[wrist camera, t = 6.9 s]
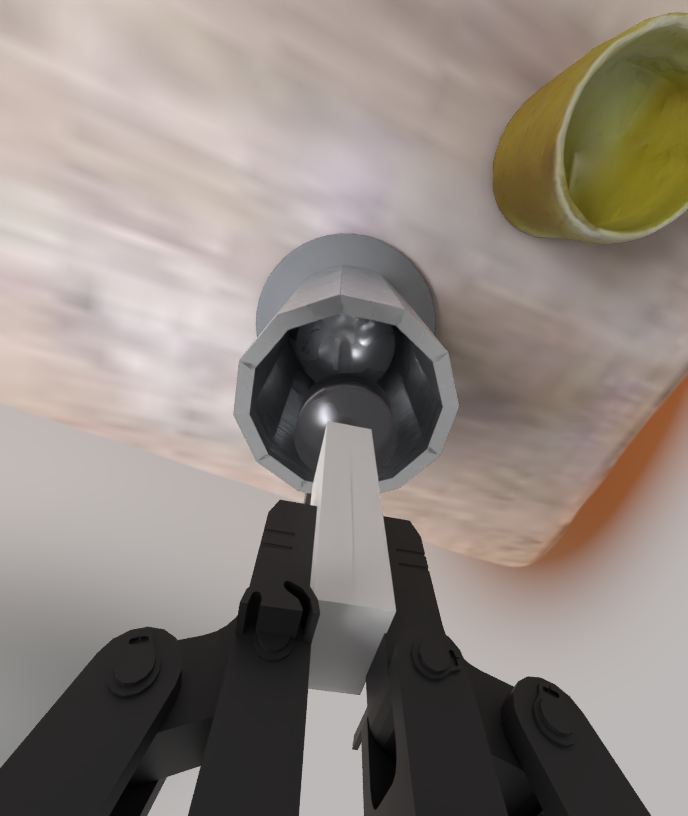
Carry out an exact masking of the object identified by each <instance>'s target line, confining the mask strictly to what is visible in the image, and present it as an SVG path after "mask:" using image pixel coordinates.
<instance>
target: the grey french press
mask: <svg viewBox="0 0 688 816" xmlns="http://www.w3.org/2000/svg"><path fill="white" fill-rule="evenodd" d="M339 313H344V314H348V315H352V316H357V317H361V318H366V319H370V320H375V321H379V322H384V323H388V324H391V326H392V329H393V332H394V337H395V350H394V355H393V358H392V361H391V364H390V365H389V367H388V369H387V370H386V372H385V373H384V374H383V375H382V377H381V378H380V379H378V380H377V381H376V382H375V383H376V384H378V385H379V386H380V387H381V388H382V390H383V391H384V392H385V394H386V396H387V397H388V400H389V402H390V406H391V410H392V414H393V418H394V422H395V426H396V430H397V444H396V448H395V451H394V453H393V455H392V457H391V459H390V460H389V461H388V463H387V464H386V465H385V466H384V467H383V468H382V469H381V470H379V471H378V472H377V474H378V482H379V489H380V493H382V492H386V491H390V490H394V489H398V488H401V487H402V486H403V485H404V484H406V483H407V482H408V481H409V480H410V479H412V478H413V477H414V476H415V475H417V474H418V473H419V472H420V471H421V470H423V469H424V468H425V467H426V466H428V465H429V464H430V463H431V462H432V461H434V460H435V459H436V458H437V457H439V456H440V454H441V452H442V449H443V447H444V444H445V441H446V439H447V436H448V434H449V431H450V429H451V426H452V424H453V421H454V419H455V416H456V414H457V411H458V409H459V403H458V398H457V393H456V388H455V383H454V378H453V373H452V368H451V363H450V358H449V353H448V351H447V350H446V349H445V348H444V346H443V345H442V344H441V343H440V342H439V340H438V339H437V338H436V337H435V335H434V334H433V333H432V332H431V331H430V329H429V328H428V327H427V326H426V324H425V323H424V322H423V321H422V319H421V318H420V317H419V316H418V315H417V313H416V312H415V311H414V310H413V308H412V307H411V306H410V305H409V304H408V302H407V301H406V300H405V299H404V298H403V297H402V296H401V295H400V294H399V293H398V292H397V291H396V290H395V289H394V288H393V286H392V285H391V284H390V283H389V282H388V281H387V280H386V279H385V278H384V277H383V276H382V275H381V274H380V273H378V272H373V271H370V270H368V269H365V268H361V267H356V266H348V265H344V264H342V265H339V266H334V267H330V268H326V269H324V270H321V271H319V272H317V273H315V274H312V275H309V276H307V277H306V278H305V280H304V281H303V282H302V283H301V284H300V286H299V287H298V288H297V289H296V290H295V292H294V293H293V294H292V295H291V296H290V298H289V299H288V300H287V301H286V302H285V304H284V305H283V306H282V307H281V309H280V310H279V311H278V312H277V314H276V315H275V316H274V317H273V319H272V320H271V321H270V322H269V324H268V325H267V326H266V327H265V329H264V330H263V331H262V333H261V334H260V335H259V336H258V338H257V339H256V340H255V341H254V343H253V344H252V345H251V346H250V348H249V349H248V350H247V351H246V353H245V354H244V355H243V356H242V358H241V359H240V360H239V366H238V376H237V385H236V395H235V404H234V413H233V415H234V417H235V419H236V421H237V423H238V425H239V427H240V429H241V431H242V433H243V435H244V437H245V439H246V441H247V443H248V446H249V448H250V450H251V452H252V454H253V456H254V458H255V460H256V461H257V462H258V463H259V464H261V465H262V466H264V467H265V468H266V469H268V470H269V471H271V472H272V473H273V474H275V475H276V476H278V477H279V478H280V479H282V480H283V481H285V482H286V483H288V484H289V485H290V486H292V487H293V488H295V489H296V490H297V491H300V492H305V499H304V504H308V505H310V504H311V495H312V486H313V482H314V477H315V472H313V471H312V470H311V469H309V468H308V467H307V466H306V465H305V464H304V463H303V461H302V460H301V458H300V457H299V455H298V453H297V450H296V447H295V443H294V431H295V426H296V422H297V418H298V414H299V410H300V406H301V403H302V400H303V398H304V396H305V394H306V392H307V391H308V390H309V389H310V387H311V386H313V385H314V384H315V383H316V382H315V381H314V380H313V379H312V378H311V377H310V376H309V375H308V374H307V373H306V372H305V370H304V369H303V367H302V365H301V363H300V361H299V358H298V354H297V348H296V340H297V333H298V329H299V327H300V326H301V325H305V324H308V323H311V322H314V321H317V320H320V319H324V318H327V317H330V316H333V315H336V314H339Z"/></svg>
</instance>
